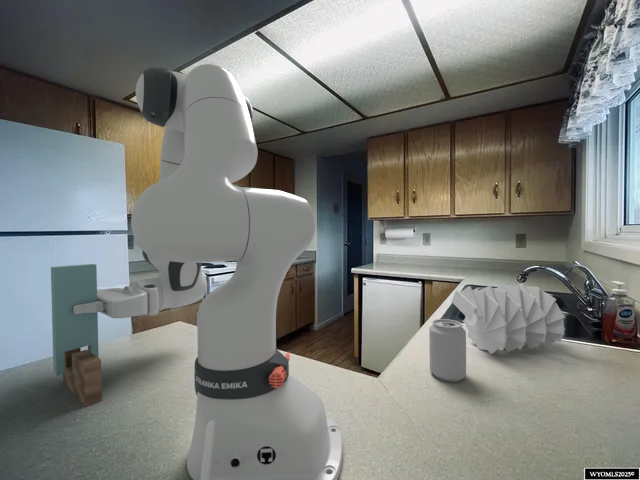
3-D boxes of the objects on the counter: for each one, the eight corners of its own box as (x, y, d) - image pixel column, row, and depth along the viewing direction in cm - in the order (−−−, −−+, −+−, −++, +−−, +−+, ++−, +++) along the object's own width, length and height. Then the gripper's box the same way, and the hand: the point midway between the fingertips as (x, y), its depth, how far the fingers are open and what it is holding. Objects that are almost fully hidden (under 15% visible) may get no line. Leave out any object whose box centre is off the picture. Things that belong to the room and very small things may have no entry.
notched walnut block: (101, 400, 56) (101, 359, 56) (85, 406, 54) (84, 364, 54) (77, 377, 65) (76, 342, 65) (63, 381, 63) (62, 345, 63)
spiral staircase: (556, 363, 78) (482, 370, 72) (506, 319, 94) (441, 322, 87) (592, 310, 71) (513, 313, 64) (531, 272, 86) (462, 271, 80)
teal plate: (98, 363, 63) (96, 264, 63) (56, 375, 58) (53, 267, 57) (94, 360, 65) (92, 263, 64) (53, 372, 59) (50, 266, 59)
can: (470, 374, 64) (470, 321, 64) (459, 387, 59) (459, 329, 59) (437, 364, 69) (436, 315, 69) (424, 376, 64) (423, 322, 64)
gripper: (125, 280, 78) (57, 288, 66) (160, 288, 65) (84, 299, 54) (125, 303, 78) (57, 315, 67) (160, 315, 66) (85, 332, 54)
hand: (70, 308), depth 60 cm, fingers closed on teal plate, 2 cm apart
